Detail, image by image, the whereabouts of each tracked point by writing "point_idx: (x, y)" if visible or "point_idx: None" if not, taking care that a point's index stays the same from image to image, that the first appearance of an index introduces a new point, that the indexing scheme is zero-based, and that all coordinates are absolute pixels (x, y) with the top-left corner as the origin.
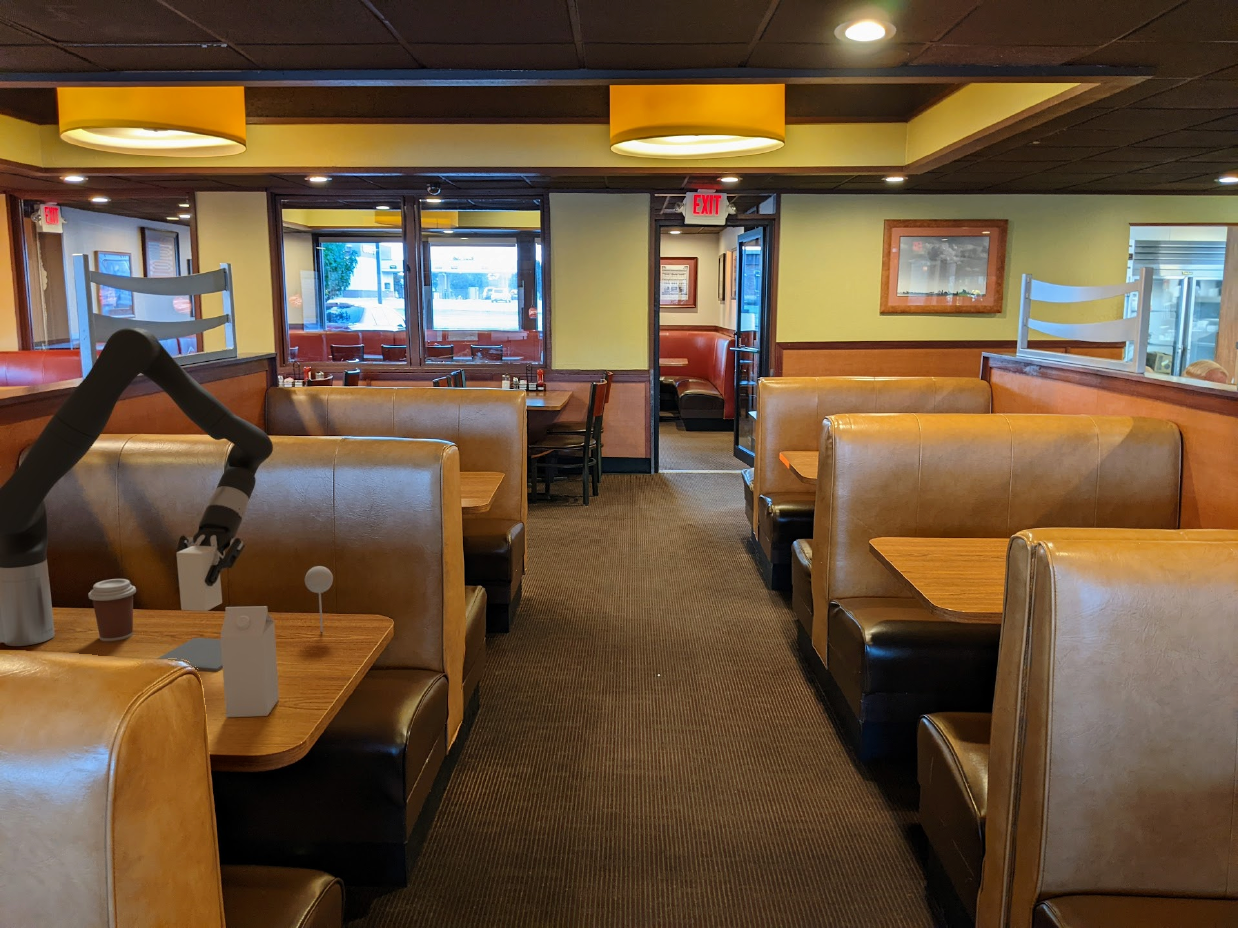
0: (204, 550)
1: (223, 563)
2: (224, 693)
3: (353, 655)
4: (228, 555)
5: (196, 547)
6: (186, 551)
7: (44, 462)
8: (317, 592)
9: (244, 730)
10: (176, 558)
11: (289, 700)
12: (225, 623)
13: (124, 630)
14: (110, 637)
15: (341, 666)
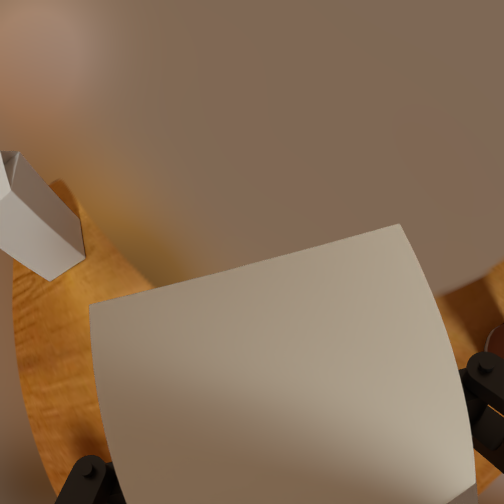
0: (154, 439)
1: (110, 466)
2: (63, 202)
3: (48, 449)
4: (68, 498)
5: (394, 496)
6: (346, 307)
7: None
8: None
9: None
10: (484, 359)
11: (41, 285)
12: (7, 153)
13: (493, 351)
14: (493, 331)
15: (37, 406)
